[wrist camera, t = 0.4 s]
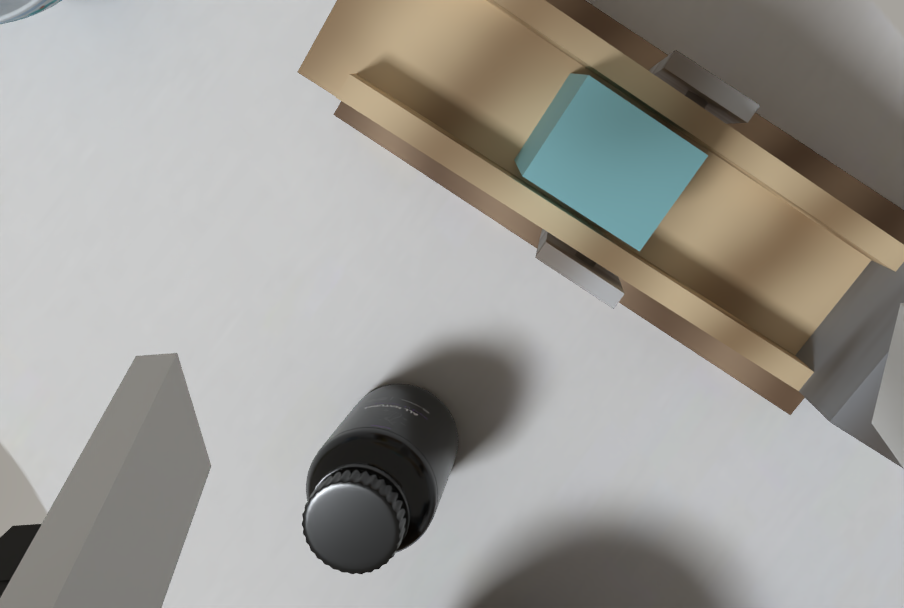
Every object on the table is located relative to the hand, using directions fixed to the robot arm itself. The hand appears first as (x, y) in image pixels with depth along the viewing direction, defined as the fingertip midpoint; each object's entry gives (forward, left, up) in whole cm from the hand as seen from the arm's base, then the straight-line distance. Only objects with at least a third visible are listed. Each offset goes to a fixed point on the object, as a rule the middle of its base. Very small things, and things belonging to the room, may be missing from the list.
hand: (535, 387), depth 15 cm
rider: (+1, -4, -19) cm, 20 cm away
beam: (-2, -4, -22) cm, 22 cm away
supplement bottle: (0, +16, -31) cm, 35 cm away
